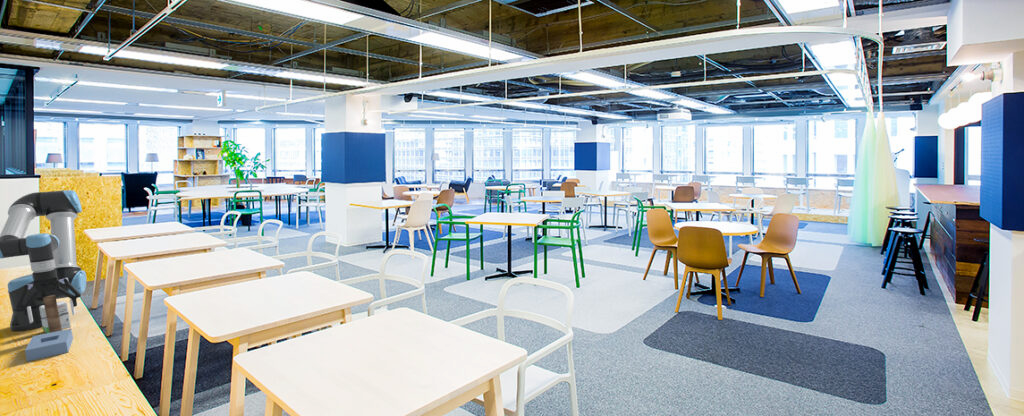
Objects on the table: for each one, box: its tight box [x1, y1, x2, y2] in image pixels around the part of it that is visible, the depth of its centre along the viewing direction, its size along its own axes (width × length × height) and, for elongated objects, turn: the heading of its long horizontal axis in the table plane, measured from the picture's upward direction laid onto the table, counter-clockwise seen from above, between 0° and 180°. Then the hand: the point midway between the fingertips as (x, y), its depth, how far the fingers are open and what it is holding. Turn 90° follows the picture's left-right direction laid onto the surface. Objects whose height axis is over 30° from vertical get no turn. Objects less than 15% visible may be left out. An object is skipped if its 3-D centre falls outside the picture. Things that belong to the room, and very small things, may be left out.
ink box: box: [39, 300, 72, 334], centre depth 224 cm, size 9×5×12 cm, turn 147°
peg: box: [43, 295, 63, 333], centre depth 215 cm, size 4×4×18 cm
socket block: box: [24, 328, 74, 362], centre depth 202 cm, size 18×12×4 cm, turn 37°
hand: (53, 318), depth 215 cm, fingers open, 13 cm apart
